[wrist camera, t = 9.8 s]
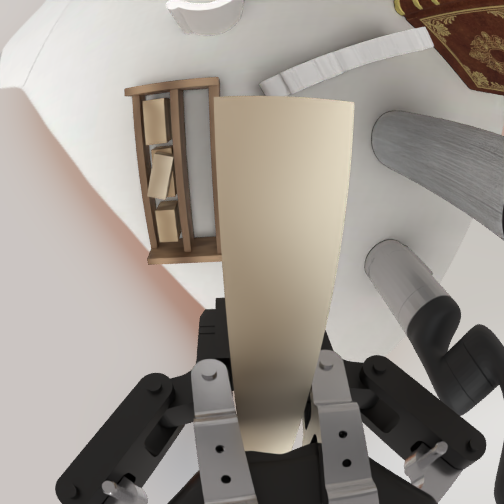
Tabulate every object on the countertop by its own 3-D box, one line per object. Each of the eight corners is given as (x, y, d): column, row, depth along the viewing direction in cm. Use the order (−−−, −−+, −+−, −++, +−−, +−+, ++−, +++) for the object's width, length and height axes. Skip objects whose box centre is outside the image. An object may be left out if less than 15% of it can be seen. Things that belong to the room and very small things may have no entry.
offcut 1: (170, 98, 34) (163, 98, 30) (172, 138, 37) (166, 142, 33) (151, 101, 34) (142, 101, 30) (154, 140, 37) (146, 145, 33)
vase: (375, 173, 42) (495, 259, 19) (365, 114, 37) (506, 153, 14) (421, 163, 41) (541, 232, 18) (415, 107, 36) (551, 145, 13)
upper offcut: (175, 154, 36) (173, 157, 34) (167, 195, 38) (165, 199, 37) (157, 151, 35) (154, 153, 33) (150, 191, 38) (147, 196, 36)
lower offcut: (175, 144, 38) (171, 148, 35) (178, 190, 41) (175, 196, 39) (156, 146, 38) (151, 150, 35) (160, 191, 41) (156, 197, 38)
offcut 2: (178, 200, 42) (174, 209, 38) (181, 229, 44) (178, 241, 41) (160, 201, 42) (155, 210, 38) (164, 230, 44) (159, 242, 41)
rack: (219, 81, 33) (218, 76, 28) (226, 241, 46) (226, 261, 41) (138, 90, 33) (124, 88, 28) (156, 245, 45) (148, 264, 40)
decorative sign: (266, 100, 37) (274, 104, 25) (258, 84, 36) (261, 81, 24) (395, 50, 31) (449, 44, 19) (388, 36, 30) (440, 23, 17)
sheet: (266, 102, 15) (354, 102, 4) (263, 335, 24) (284, 469, 13) (224, 103, 14) (213, 97, 4) (235, 337, 23) (244, 473, 13)
